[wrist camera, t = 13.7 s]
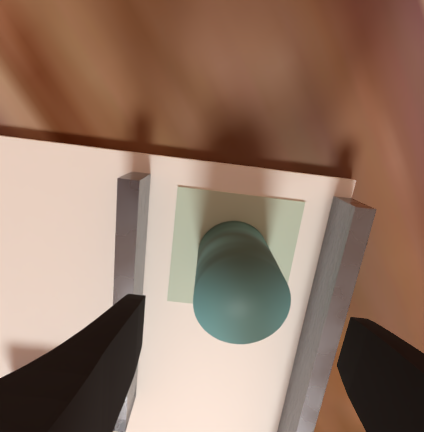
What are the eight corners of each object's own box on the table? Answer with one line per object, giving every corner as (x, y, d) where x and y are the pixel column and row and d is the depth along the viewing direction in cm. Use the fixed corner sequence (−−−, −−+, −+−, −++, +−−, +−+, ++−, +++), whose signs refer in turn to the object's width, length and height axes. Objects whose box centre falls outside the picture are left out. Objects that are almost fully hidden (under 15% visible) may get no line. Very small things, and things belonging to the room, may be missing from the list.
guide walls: (23, 499, 22) (0, 544, 20) (-2, 155, 15) (-42, 158, 13) (268, 520, 23) (275, 565, 20) (351, 198, 16) (376, 209, 13)
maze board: (15, 499, 23) (10, 509, 22) (-15, 133, 15) (-25, 133, 15) (265, 520, 23) (266, 530, 23) (351, 178, 16) (357, 180, 15)
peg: (200, 287, 17) (196, 346, 12) (195, 223, 16) (189, 260, 11) (267, 283, 17) (290, 341, 12) (267, 218, 16) (291, 254, 11)
